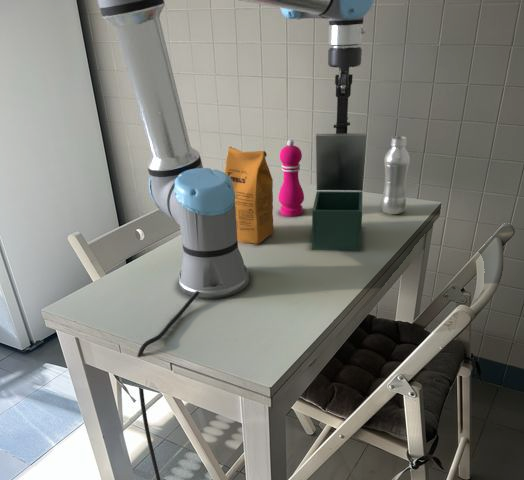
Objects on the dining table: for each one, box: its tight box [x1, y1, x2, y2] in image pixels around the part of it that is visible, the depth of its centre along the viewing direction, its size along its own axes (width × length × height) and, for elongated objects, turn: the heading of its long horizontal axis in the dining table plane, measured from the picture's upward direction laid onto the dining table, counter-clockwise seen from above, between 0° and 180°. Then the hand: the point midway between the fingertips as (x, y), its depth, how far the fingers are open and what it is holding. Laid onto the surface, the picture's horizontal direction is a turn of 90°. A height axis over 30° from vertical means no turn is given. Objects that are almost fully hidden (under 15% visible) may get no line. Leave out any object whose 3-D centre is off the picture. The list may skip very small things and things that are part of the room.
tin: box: [311, 190, 363, 251], centre depth 132 cm, size 15×12×10 cm
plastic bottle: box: [380, 135, 411, 215], centre depth 143 cm, size 6×7×20 cm
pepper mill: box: [278, 139, 305, 217], centre depth 146 cm, size 7×7×20 cm
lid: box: [315, 132, 367, 191], centre depth 129 cm, size 15×12×1 cm
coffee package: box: [223, 145, 275, 245], centre depth 133 cm, size 10×12×22 cm
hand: (340, 154), depth 133 cm, fingers closed
